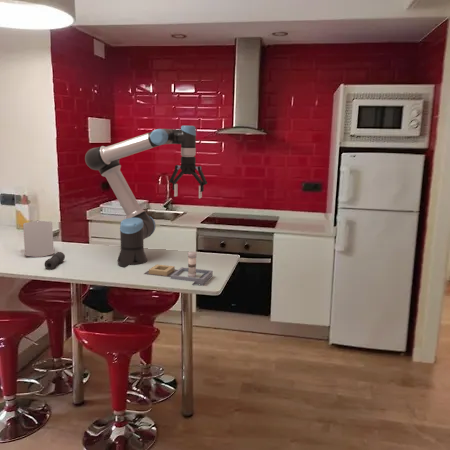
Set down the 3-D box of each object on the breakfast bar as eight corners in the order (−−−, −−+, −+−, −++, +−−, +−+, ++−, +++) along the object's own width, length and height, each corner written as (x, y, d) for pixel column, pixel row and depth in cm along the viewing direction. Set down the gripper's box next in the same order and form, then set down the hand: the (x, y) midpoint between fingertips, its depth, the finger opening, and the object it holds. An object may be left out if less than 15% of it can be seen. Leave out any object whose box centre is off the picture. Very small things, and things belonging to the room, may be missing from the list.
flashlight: (54, 270, 232) (54, 259, 231) (43, 270, 232) (43, 259, 231) (65, 261, 247) (64, 251, 246) (54, 261, 247) (54, 251, 246)
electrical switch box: (53, 253, 270) (51, 218, 268) (54, 256, 256) (51, 219, 254) (26, 255, 264) (24, 219, 263) (25, 258, 251) (22, 221, 249)
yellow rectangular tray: (143, 276, 224) (143, 269, 223) (153, 269, 235) (153, 263, 235) (170, 280, 220) (170, 273, 219) (179, 272, 231) (179, 266, 231)
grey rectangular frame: (170, 281, 218) (170, 275, 217) (181, 273, 231) (181, 267, 231) (203, 285, 214) (203, 279, 213) (212, 276, 227) (212, 270, 226)
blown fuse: (186, 277, 221) (186, 253, 218) (189, 275, 225) (189, 251, 222) (194, 278, 220) (194, 254, 217) (197, 276, 224) (197, 252, 221)
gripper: (213, 156, 241) (212, 197, 245) (168, 154, 248) (168, 194, 252) (209, 157, 234) (208, 199, 238) (162, 155, 241) (163, 196, 245)
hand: (188, 197), depth 245 cm, fingers open, 13 cm apart
